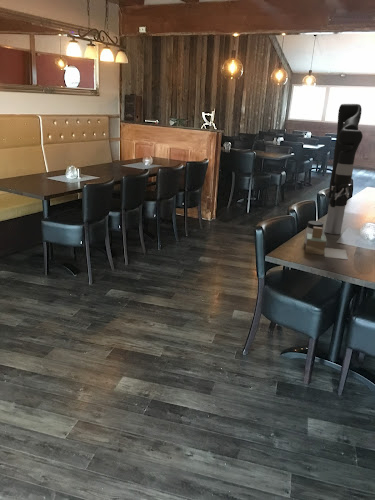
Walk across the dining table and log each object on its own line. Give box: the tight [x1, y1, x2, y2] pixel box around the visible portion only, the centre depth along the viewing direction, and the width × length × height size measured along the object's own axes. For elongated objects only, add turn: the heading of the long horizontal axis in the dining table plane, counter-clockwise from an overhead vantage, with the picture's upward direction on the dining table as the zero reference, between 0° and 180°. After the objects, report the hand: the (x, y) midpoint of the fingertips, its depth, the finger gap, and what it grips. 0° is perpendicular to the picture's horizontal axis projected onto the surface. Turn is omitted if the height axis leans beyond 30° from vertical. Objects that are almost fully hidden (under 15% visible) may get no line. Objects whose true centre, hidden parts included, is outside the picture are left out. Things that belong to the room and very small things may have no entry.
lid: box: [307, 227, 327, 243], centre depth 212 cm, size 9×9×7 cm
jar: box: [303, 220, 324, 245], centre depth 225 cm, size 9×8×12 cm
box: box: [304, 240, 327, 256], centre depth 214 cm, size 9×9×7 cm
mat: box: [324, 247, 348, 261], centre depth 212 cm, size 15×11×1 cm
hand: (338, 206), depth 202 cm, fingers open, 8 cm apart
